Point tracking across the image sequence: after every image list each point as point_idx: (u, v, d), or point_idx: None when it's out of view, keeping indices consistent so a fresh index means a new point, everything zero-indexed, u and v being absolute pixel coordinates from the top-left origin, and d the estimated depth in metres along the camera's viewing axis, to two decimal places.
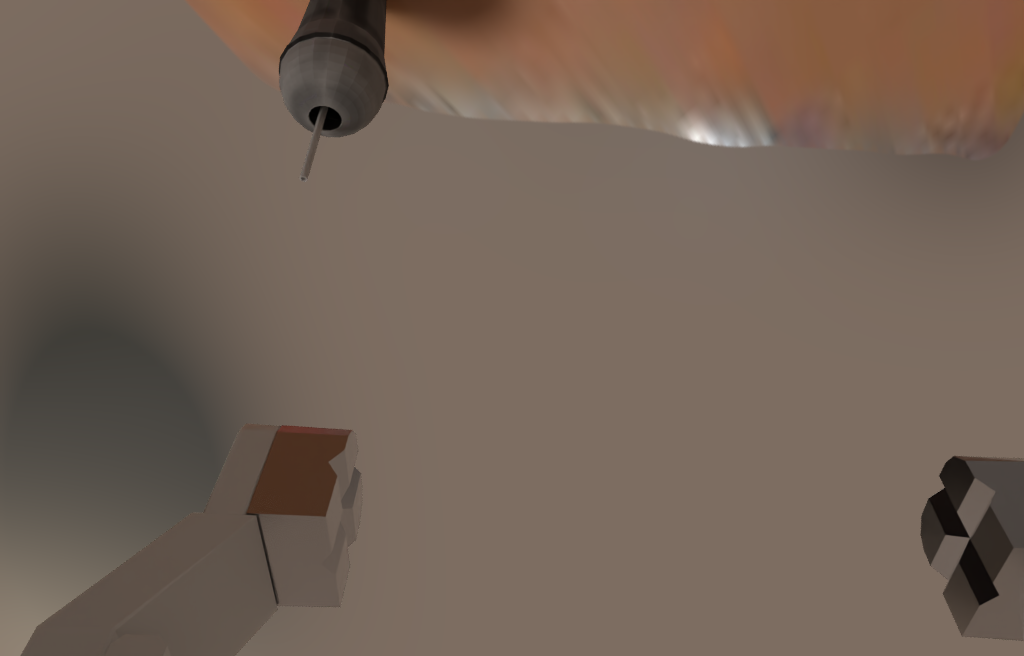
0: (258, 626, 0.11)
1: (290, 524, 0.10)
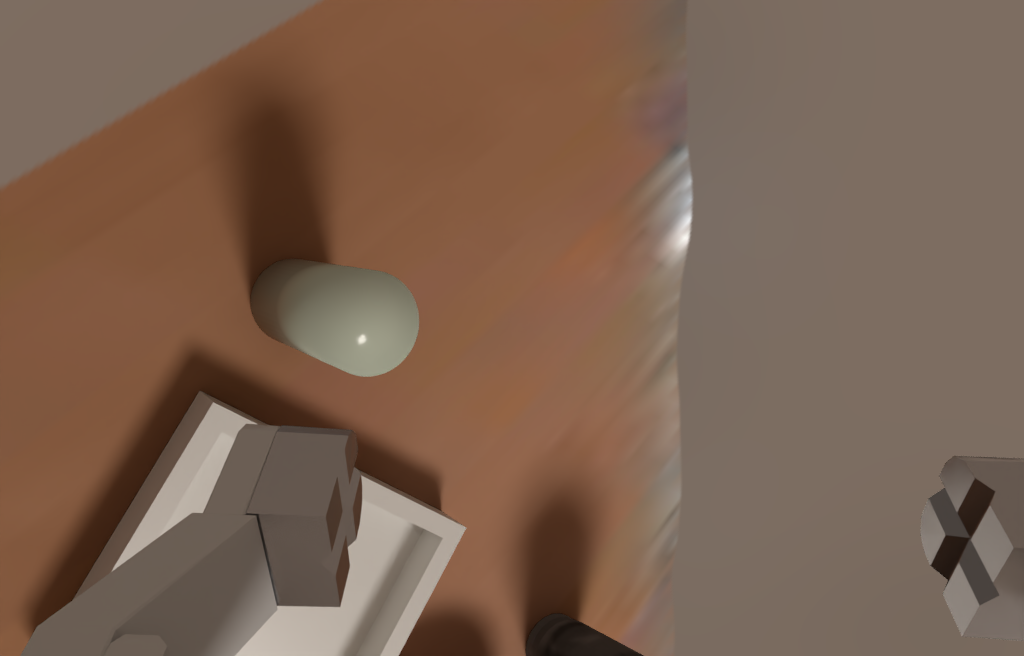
0: (258, 626, 0.11)
1: (290, 524, 0.10)
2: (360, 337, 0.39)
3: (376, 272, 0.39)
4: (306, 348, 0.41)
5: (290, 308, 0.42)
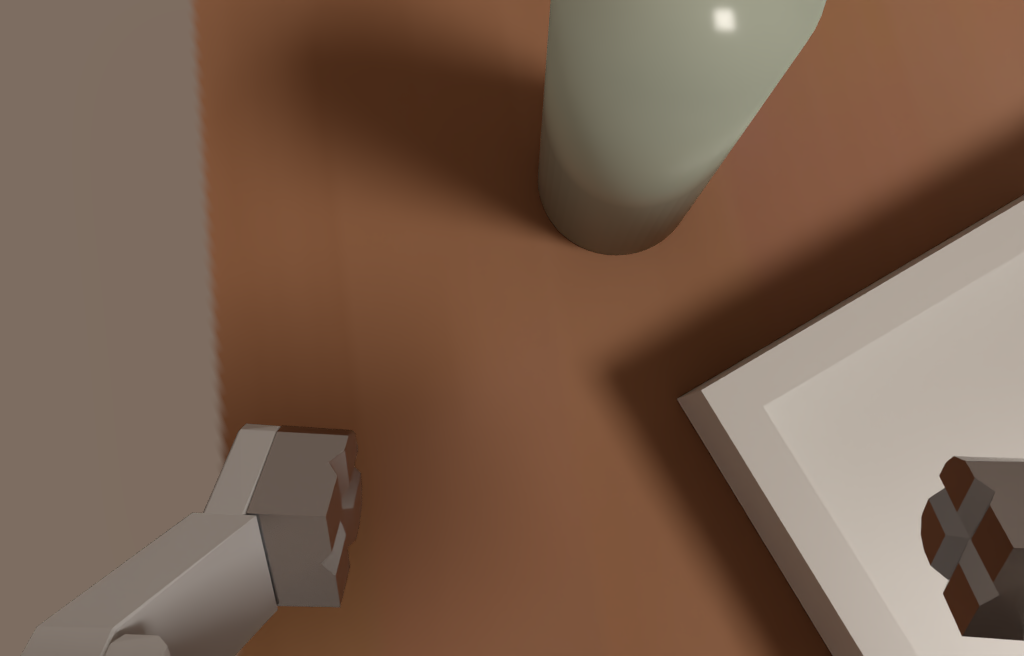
0: (258, 626, 0.11)
1: (290, 524, 0.10)
2: (711, 1, 0.15)
3: None
4: (681, 160, 0.18)
5: (589, 156, 0.19)
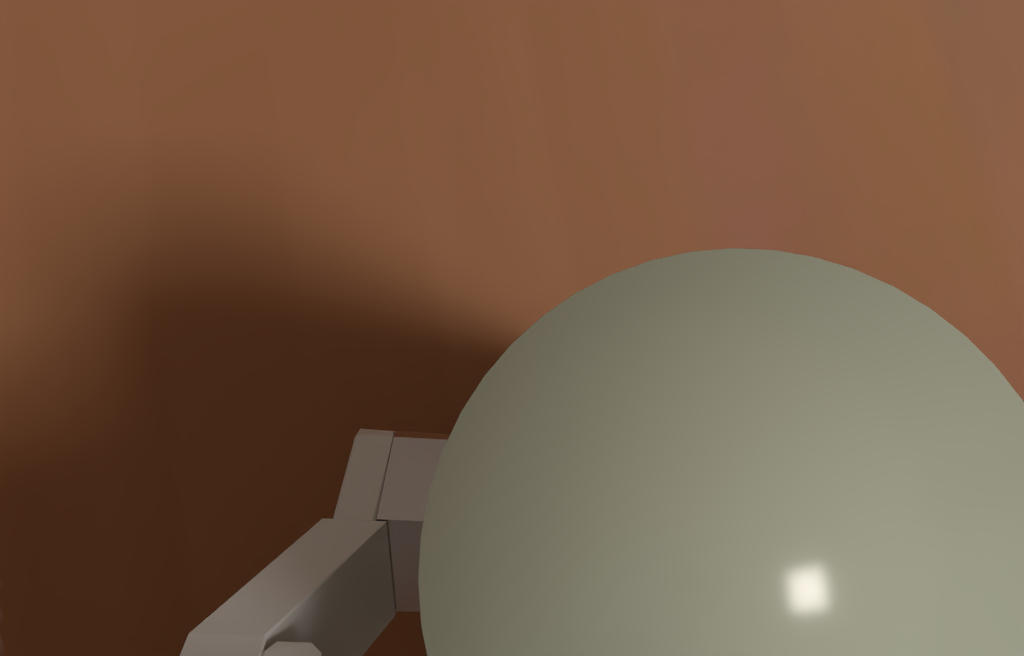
0: (379, 632, 0.11)
1: (418, 530, 0.10)
2: None
3: (485, 392, 0.07)
4: None
5: None
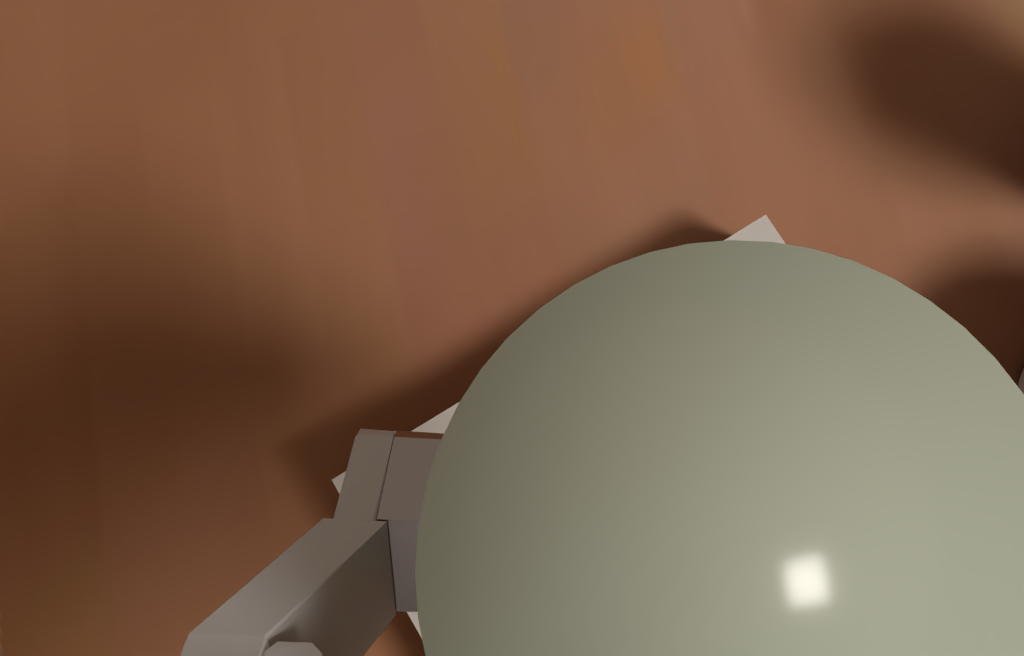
0: (379, 632, 0.11)
1: None
2: None
3: (482, 384, 0.06)
4: None
5: None
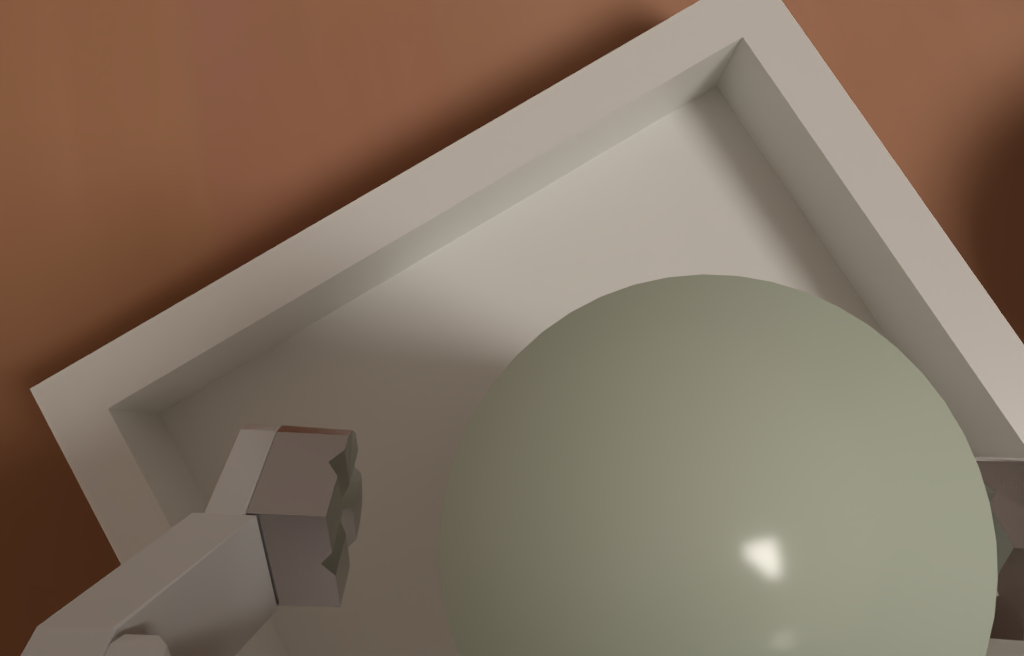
0: (258, 626, 0.11)
1: (290, 524, 0.10)
2: (760, 628, 0.07)
3: (494, 396, 0.08)
4: None
5: None
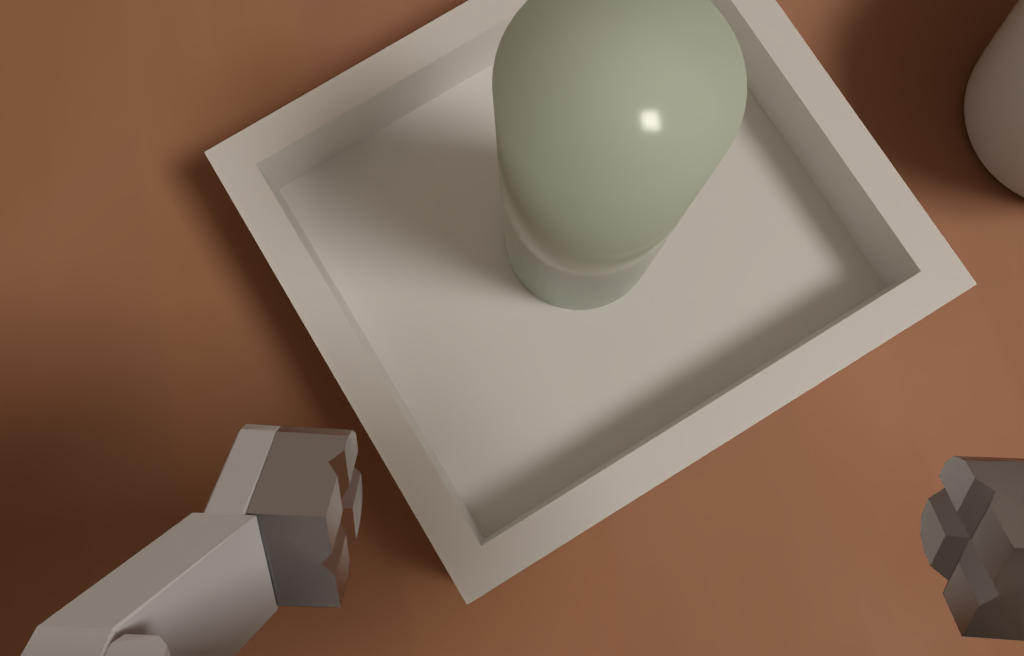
0: (258, 626, 0.11)
1: (290, 524, 0.10)
2: (638, 116, 0.16)
3: (517, 18, 0.17)
4: (624, 246, 0.19)
5: (541, 239, 0.21)
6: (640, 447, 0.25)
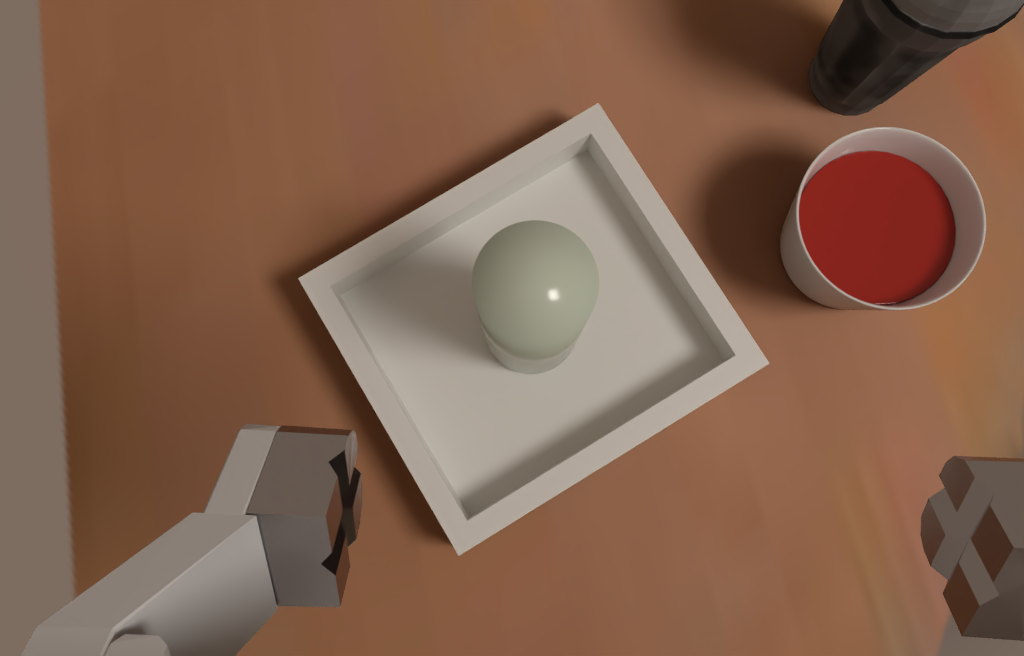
0: (258, 626, 0.11)
1: (290, 524, 0.10)
2: (544, 300, 0.33)
3: (484, 248, 0.33)
4: (544, 354, 0.36)
5: (500, 347, 0.37)
6: (563, 461, 0.41)
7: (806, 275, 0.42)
